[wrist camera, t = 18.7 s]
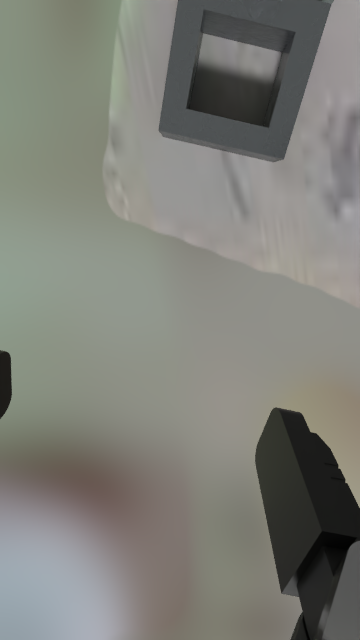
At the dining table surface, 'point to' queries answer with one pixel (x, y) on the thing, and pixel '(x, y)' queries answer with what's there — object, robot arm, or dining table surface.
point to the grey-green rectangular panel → (327, 1)
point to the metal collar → (256, 29)
